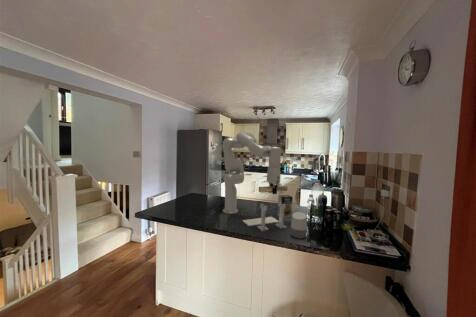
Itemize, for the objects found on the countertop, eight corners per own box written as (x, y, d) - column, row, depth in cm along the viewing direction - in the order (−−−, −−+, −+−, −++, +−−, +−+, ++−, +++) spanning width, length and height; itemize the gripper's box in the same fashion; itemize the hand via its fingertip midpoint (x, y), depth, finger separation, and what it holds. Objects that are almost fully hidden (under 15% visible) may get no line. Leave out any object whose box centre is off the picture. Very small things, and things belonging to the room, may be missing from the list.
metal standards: (257, 227, 137) (258, 203, 136) (281, 224, 144) (282, 201, 143) (261, 231, 132) (262, 206, 131) (286, 227, 139) (287, 203, 138)
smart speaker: (288, 237, 124) (289, 214, 123) (293, 232, 132) (294, 210, 131) (304, 241, 119) (305, 217, 118) (308, 235, 127) (309, 213, 126)
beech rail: (258, 191, 134) (258, 186, 134) (284, 189, 142) (284, 185, 142) (260, 192, 132) (261, 187, 131) (287, 190, 139) (287, 186, 139)
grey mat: (242, 221, 148) (242, 220, 148) (271, 217, 157) (271, 216, 157) (248, 226, 139) (248, 225, 139) (279, 222, 148) (279, 221, 148)
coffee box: (281, 218, 156) (282, 197, 155) (277, 215, 163) (278, 195, 162) (292, 217, 159) (292, 196, 158) (287, 214, 165) (288, 194, 164)
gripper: (263, 164, 142) (262, 190, 143) (276, 167, 126) (274, 196, 128) (272, 164, 144) (271, 190, 146) (286, 167, 129) (284, 195, 131)
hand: (273, 192), depth 137 cm, fingers closed on beech rail, 3 cm apart
